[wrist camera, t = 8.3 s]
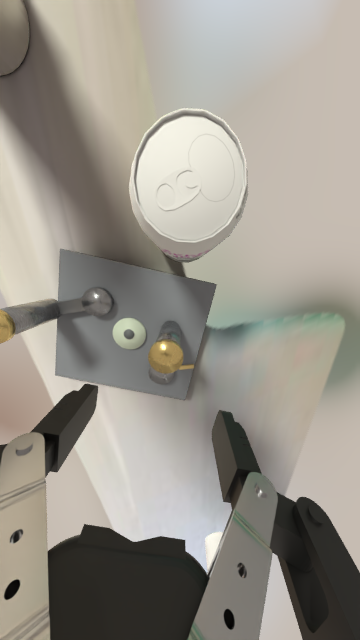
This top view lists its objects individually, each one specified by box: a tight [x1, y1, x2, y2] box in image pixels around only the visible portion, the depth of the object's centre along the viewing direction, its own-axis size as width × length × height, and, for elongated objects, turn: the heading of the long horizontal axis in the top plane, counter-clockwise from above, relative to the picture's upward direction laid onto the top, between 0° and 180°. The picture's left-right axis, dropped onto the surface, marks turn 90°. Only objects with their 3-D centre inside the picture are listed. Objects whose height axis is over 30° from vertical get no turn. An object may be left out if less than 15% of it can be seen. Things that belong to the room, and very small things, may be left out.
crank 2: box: [148, 321, 183, 384], centre depth 24 cm, size 11×4×9 cm, turn 168°
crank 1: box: [0, 287, 114, 343], centre depth 22 cm, size 11×4×9 cm, turn 99°
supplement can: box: [129, 108, 248, 262], centre depth 18 cm, size 8×8×15 cm
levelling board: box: [55, 249, 216, 400], centre depth 28 cm, size 20×22×2 cm
